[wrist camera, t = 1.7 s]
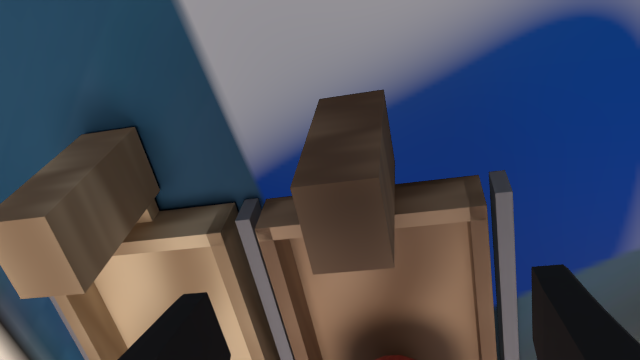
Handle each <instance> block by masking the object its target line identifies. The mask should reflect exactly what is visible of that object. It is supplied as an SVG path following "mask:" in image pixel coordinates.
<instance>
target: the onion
mask: <svg viewBox="0 0 640 360" xmlns="http://www.w3.org/2000/svg"><path fill="white" fill-rule="evenodd" d="M375 360H416V359H412V358H409V357H406V356H403V355H385V356H382V357H380V358H377V359H375Z"/></svg>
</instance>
